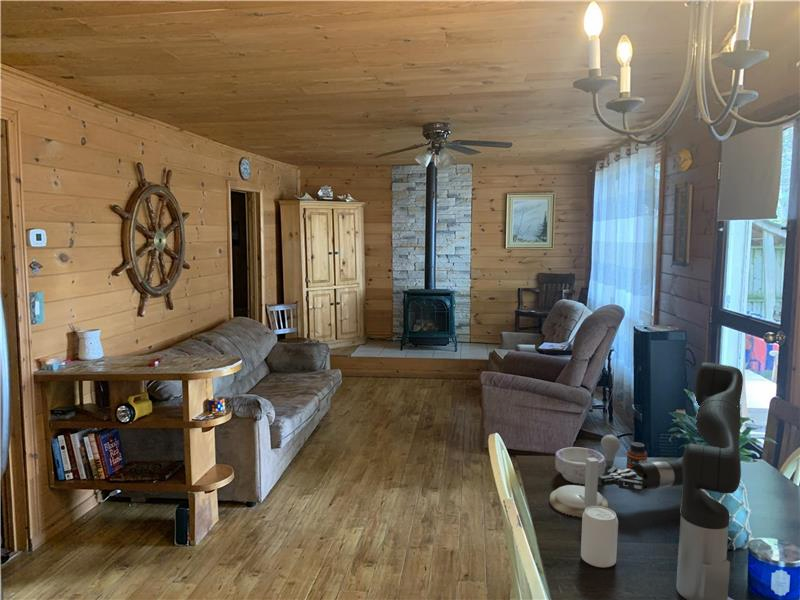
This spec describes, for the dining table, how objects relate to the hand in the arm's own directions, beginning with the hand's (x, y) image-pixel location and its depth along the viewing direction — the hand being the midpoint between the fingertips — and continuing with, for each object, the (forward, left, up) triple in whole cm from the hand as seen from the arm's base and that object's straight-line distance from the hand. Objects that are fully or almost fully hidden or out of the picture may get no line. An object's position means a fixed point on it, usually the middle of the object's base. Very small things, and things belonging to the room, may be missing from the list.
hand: (599, 481), depth 163 cm
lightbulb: (+27, -22, -9) cm, 36 cm away
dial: (+5, +3, -7) cm, 9 cm away
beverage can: (-22, +14, -9) cm, 27 cm away
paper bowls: (+21, -7, -9) cm, 24 cm away
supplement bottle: (+17, -25, -9) cm, 32 cm away
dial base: (+5, +3, -9) cm, 11 cm away
